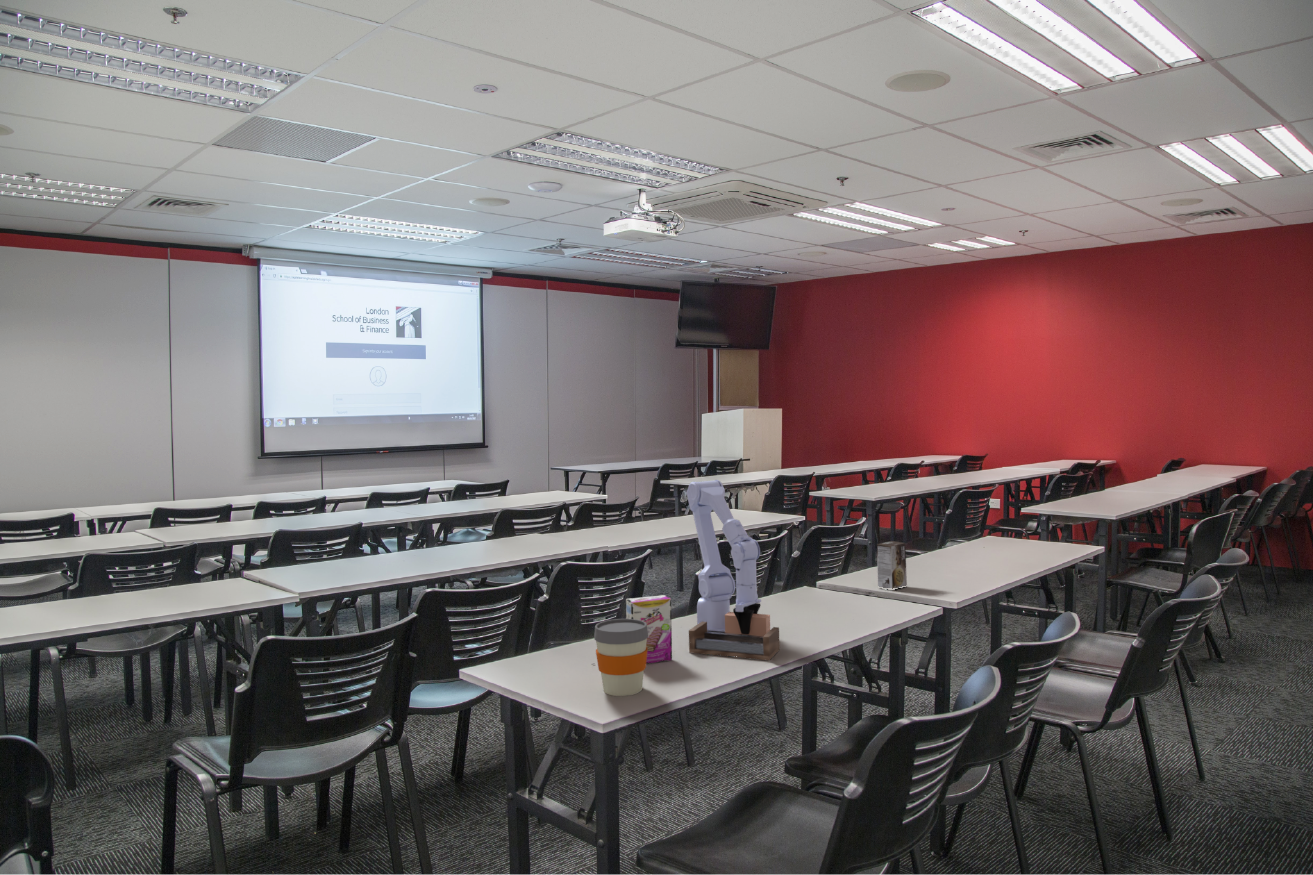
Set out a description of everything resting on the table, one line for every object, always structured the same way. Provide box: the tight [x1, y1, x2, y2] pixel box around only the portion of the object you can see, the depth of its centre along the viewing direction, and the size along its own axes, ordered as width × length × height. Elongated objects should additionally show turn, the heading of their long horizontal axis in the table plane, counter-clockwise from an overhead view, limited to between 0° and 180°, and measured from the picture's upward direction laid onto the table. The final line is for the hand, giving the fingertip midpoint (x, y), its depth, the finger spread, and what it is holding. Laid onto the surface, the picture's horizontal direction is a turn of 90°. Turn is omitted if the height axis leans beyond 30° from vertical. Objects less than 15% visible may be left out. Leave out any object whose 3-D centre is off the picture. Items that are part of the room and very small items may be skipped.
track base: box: [688, 621, 781, 661], centre depth 212 cm, size 22×10×6 cm, turn 66°
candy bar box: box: [625, 594, 673, 665], centre depth 206 cm, size 11×5×16 cm, turn 111°
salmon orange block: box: [724, 611, 771, 636], centre depth 223 cm, size 12×4×7 cm, turn 66°
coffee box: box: [876, 540, 908, 589], centre depth 285 cm, size 9×6×16 cm
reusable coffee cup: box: [593, 618, 648, 697], centre depth 184 cm, size 13×12×15 cm
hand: (747, 631), depth 223 cm, fingers closed on salmon orange block, 4 cm apart
